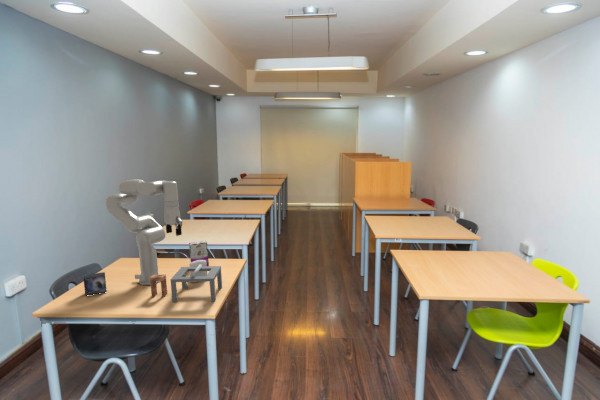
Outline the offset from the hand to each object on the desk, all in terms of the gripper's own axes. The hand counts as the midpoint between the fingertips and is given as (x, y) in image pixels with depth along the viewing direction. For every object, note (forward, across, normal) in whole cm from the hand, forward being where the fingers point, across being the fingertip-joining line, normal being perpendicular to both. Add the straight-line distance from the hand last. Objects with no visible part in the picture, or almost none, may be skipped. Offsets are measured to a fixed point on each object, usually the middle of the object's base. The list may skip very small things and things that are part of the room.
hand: (174, 233), depth 213 cm
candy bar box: (+31, -20, +28) cm, 47 cm away
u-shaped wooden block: (+31, +2, -13) cm, 34 cm away
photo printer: (+31, +1, +13) cm, 34 cm away
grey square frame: (+31, +18, +1) cm, 36 cm away
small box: (+31, -29, -33) cm, 54 cm away
